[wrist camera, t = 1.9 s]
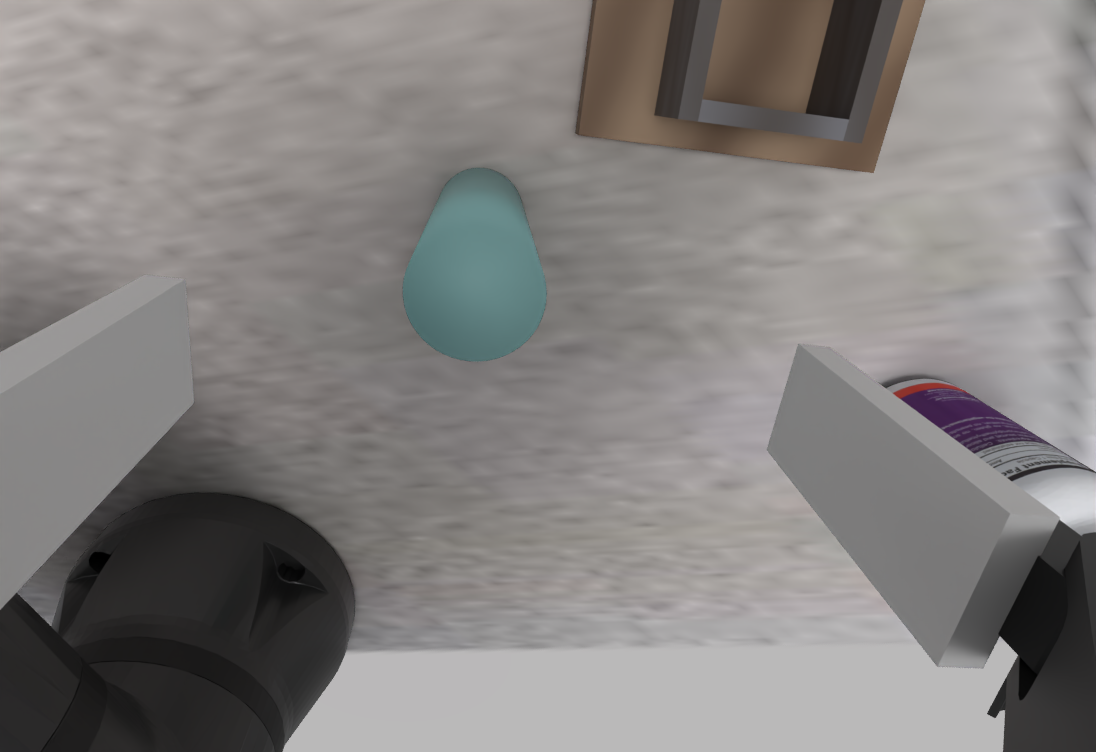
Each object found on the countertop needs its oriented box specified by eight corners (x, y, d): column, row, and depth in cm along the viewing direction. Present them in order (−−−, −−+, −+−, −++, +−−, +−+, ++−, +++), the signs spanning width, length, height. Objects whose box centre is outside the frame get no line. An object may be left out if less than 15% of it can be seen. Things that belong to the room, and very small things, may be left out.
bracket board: (575, 133, 30) (591, 141, 26) (618, -193, 26) (648, -258, 21) (860, 170, 32) (925, 183, 27) (947, -130, 28) (1043, -176, 23)
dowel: (435, 249, 32) (399, 355, 19) (440, 162, 30) (405, 215, 18) (518, 257, 32) (537, 367, 20) (527, 173, 31) (555, 231, 18)
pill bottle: (951, 489, 40) (1178, 684, 27) (822, 500, 40) (990, 703, 27) (981, 366, 37) (1255, 518, 24) (841, 376, 37) (1042, 536, 23)
